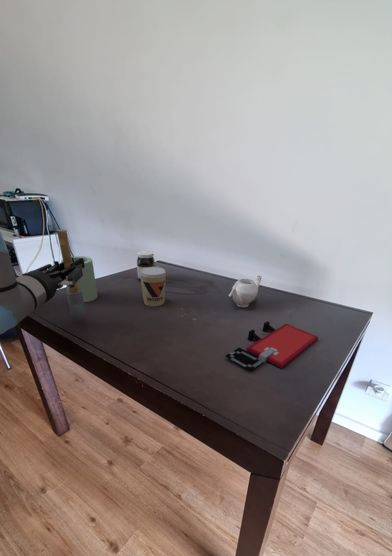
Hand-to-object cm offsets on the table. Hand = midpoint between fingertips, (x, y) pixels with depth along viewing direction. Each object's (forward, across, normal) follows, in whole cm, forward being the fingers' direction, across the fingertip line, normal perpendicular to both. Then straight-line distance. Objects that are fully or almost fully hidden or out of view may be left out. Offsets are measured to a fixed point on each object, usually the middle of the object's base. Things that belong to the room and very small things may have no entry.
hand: (77, 262), depth 85 cm
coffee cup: (+16, +19, -18) cm, 31 cm away
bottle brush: (-5, 0, -14) cm, 15 cm away
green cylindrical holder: (+15, -8, -18) cm, 25 cm away
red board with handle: (-10, +60, -18) cm, 63 cm away
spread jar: (+40, +12, -18) cm, 45 cm away
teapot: (+20, +52, -18) cm, 59 cm away
